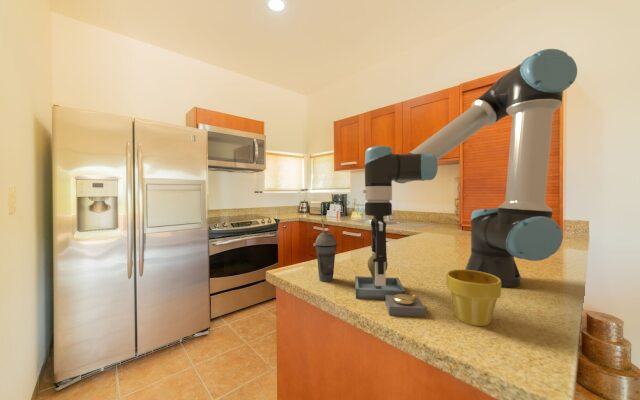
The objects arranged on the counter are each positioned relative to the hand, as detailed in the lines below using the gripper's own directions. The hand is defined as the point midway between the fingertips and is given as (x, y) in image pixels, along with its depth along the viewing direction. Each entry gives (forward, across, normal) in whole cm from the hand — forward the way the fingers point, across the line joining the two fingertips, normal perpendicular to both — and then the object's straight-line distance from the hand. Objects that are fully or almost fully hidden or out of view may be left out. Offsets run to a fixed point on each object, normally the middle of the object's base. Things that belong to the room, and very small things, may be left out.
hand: (378, 279), depth 74 cm
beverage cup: (+4, -9, -16) cm, 19 cm away
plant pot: (+4, +14, +19) cm, 24 cm away
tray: (+4, 0, 0) cm, 4 cm away
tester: (+4, +11, +5) cm, 13 cm away
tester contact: (+1, +11, +5) cm, 12 cm away
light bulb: (+3, 0, 0) cm, 3 cm away
